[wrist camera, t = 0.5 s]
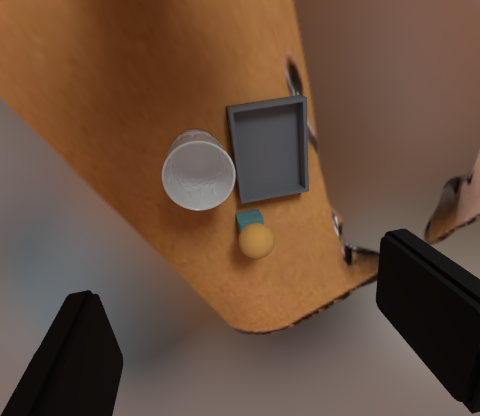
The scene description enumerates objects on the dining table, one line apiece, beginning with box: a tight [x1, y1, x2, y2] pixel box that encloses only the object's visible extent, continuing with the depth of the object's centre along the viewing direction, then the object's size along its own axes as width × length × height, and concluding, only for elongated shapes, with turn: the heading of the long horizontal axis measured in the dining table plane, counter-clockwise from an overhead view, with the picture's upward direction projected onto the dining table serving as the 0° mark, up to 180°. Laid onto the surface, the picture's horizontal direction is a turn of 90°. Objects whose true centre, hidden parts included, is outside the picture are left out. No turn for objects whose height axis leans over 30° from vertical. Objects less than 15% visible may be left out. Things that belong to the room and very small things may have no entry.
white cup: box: [162, 129, 236, 211], centre depth 37 cm, size 8×8×10 cm
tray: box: [226, 95, 309, 204], centre depth 42 cm, size 13×10×3 cm
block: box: [236, 209, 264, 234], centre depth 46 cm, size 4×4×4 cm
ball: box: [238, 223, 274, 259], centre depth 42 cm, size 5×5×5 cm
